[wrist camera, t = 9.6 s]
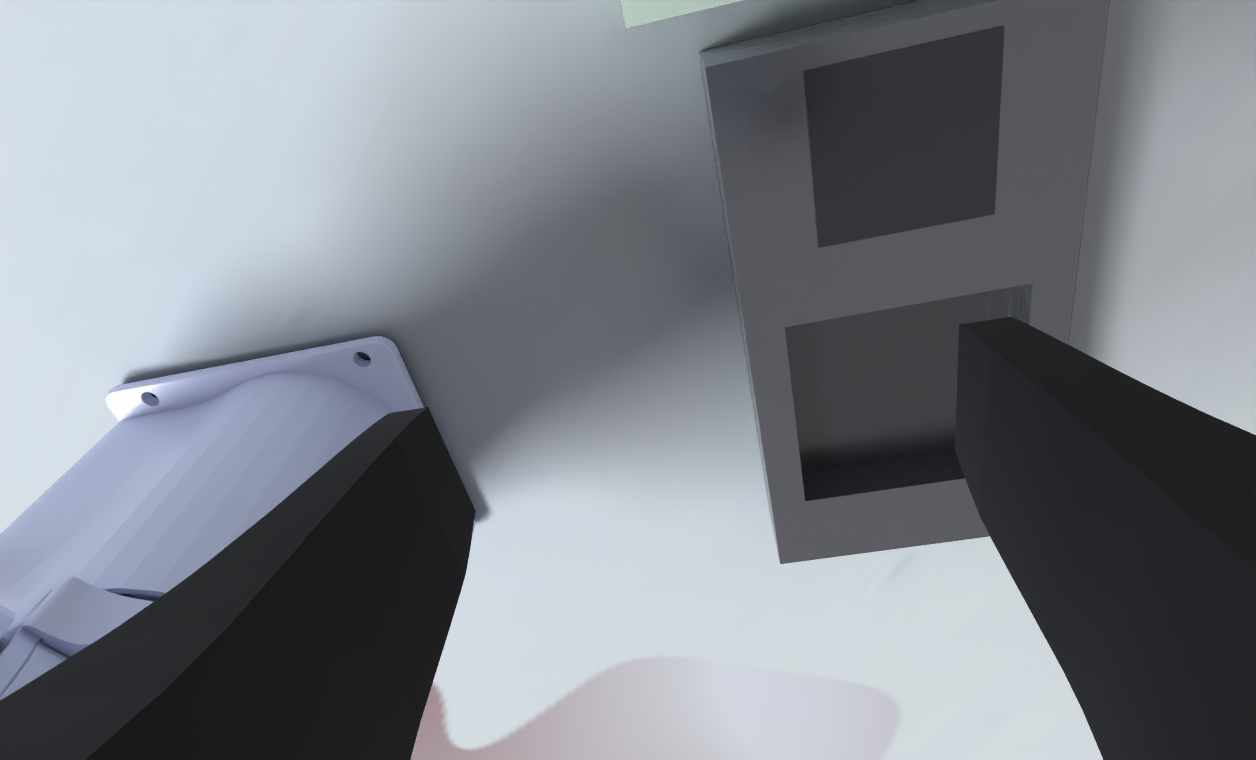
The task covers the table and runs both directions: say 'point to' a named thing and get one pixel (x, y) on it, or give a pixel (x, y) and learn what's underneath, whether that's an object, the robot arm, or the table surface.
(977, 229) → the plate with square cutouts
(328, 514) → the robot arm
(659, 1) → the tray
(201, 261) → the table surface
